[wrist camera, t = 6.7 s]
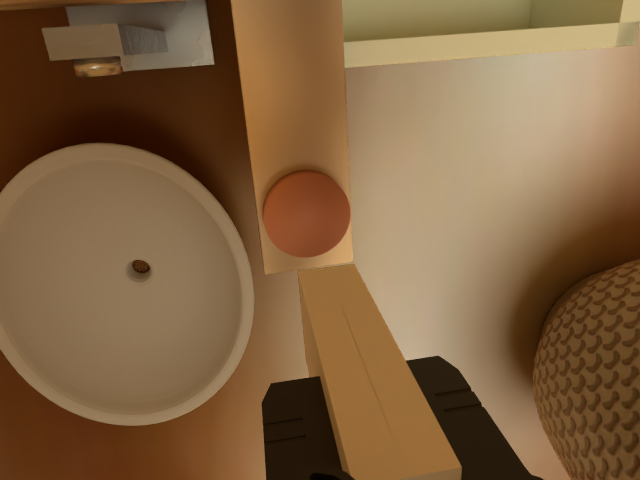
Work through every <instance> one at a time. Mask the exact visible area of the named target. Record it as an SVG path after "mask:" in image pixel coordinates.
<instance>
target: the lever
mask: <svg viewBox="0 0 640 480" xmlns="http://www.w3.org/2000/svg"><path fill="white" fill-rule="evenodd" d="M166 1H184V0H0V11H2V10H20V9H39V8H57V7H75V6H93V5H112V4H130V3H148V2H166ZM230 2H231V10H232V18H233V26H234V34H235V42H236V50H237V58H238V66H239V74H240V82H241V90H242V98H243V106H244V114H245V122H246V131H247V139H248V147H249V155H250V163H251V171H252V179H253V187H254V195H255V203H256V211H257V219H258V227H259V235H260V243H261V251H262V259H263V266H264V271H265V275H266V274H273V273H279V272H286V271H293V270H300V269H307V268H314V267H321V266H328V265H334V264H341V263H348V262H353V253H352V229H351V206H350V182H349V158H348V134H347V110H346V86H345V62H344V38H343V14H342V0H230Z"/></svg>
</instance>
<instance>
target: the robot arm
mask: <svg viewBox="0 0 640 480" xmlns="http://www.w3.org/2000/svg"><path fill="white" fill-rule="evenodd" d="M298 281H299V291H300V302H301V313H302V323H303V334H304V345H305V355H306V361H307V366H308V371H309V376H310V378H303V379H297V380H290V381H284V382H278V383H271V385H270V387H269V389H268V391H267V393H266V395H265V397H264V399H263V401H262V415H263V431H264V445H265V447H264V448H265V464H266V480H543V479H542V478H540V477H537V476H533V475H531V474H530V473H529V472H528V470H527V469H526V468H525V467H524V465H523V464H522V462H521V461H520V459H519V458H518V456H517V455H516V454H515V452H514V451H513V449H512V448H511V446H510V445H509V443H508V442H507V440H506V439H505V437H504V436H503V434H502V433H501V431H500V430H499V429H498V427H497V426H496V424H495V423H494V421H493V420H492V418H491V417H490V415H489V414H488V412H487V411H486V409H485V408H484V407H482V405H481V402H480V401H479V399H478V398H477V396H476V395H475V393H474V392H472V391H471V387H470V386H469V384H468V383H467V381H466V380H465V379H464V377H463V376H462V374H461V373H460V371H459V370H458V369H457V368H455V367H454V366H453V365H451V364H450V363H448V362H447V361H445V360H444V359H443V358H441V357H440V356H434V357H427V358H421V359H414V360H408V361H405V359H404V357H403V355H402V353H401V351H400V349H399V348H398V346H397V344H396V342H395V340H394V338H393V336H392V334H391V332H390V331H389V329H388V327H387V325H386V323H385V321H384V319H383V317H382V315H381V314H380V312H379V310H378V308H377V306H376V304H375V302H374V300H373V299H372V297H371V295H370V293H369V291H368V289H367V287H366V285H365V283H364V282H363V280H362V278H361V276H360V274H359V272H358V270H357V268H356V266H355V265H354V264H348V265H341V266H333V267H325V268H317V269H310V270H302V271H298Z"/></svg>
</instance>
